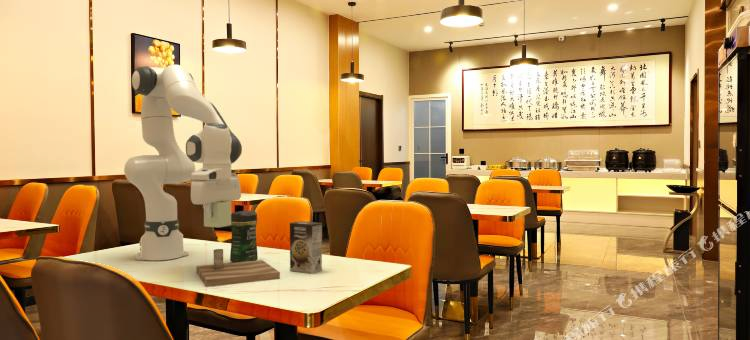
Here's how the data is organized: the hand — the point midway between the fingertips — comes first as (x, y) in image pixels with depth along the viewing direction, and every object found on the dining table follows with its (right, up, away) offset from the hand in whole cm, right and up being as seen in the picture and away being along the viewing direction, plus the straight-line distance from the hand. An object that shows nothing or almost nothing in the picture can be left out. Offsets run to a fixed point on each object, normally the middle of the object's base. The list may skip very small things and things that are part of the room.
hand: (217, 216), depth 169 cm
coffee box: (+28, -19, +5) cm, 34 cm away
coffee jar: (+4, -19, +21) cm, 28 cm away
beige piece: (0, -3, 0) cm, 3 cm away
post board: (+7, -19, -1) cm, 20 cm away
